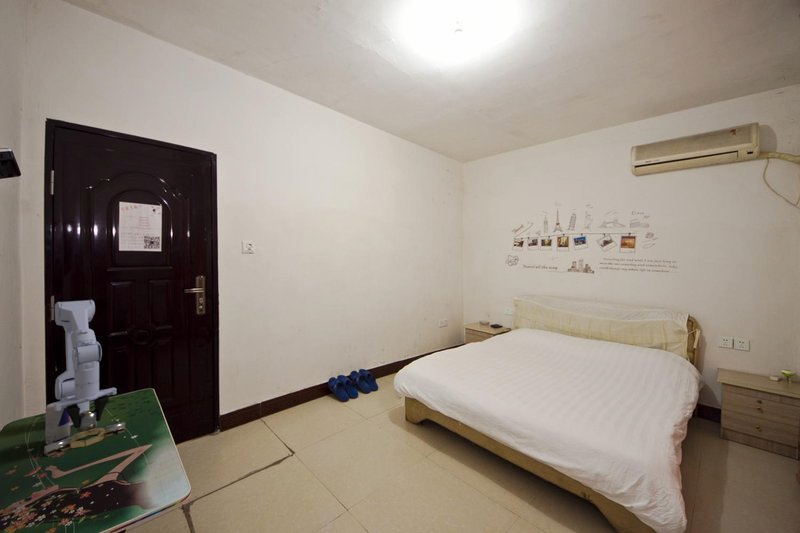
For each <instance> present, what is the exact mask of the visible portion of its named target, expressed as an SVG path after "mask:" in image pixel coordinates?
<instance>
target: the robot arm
mask: <svg viewBox="0 0 800 533" xmlns="http://www.w3.org/2000/svg"><path fill="white" fill-rule="evenodd" d="M95 312H96V305H95V301H94V300H93V299H88V300H87V299H86V300H73V301H57V302H56V303H55V304H54V316H55V317H54V321H55V323H56V325H57V326H60V327H61V326H62V327H63V329H64V331H65V333H64V334H65V359H66V361H65V364H66V366H65V367H66V370H65V371H64V372H63V373H61V374H59V375H58V376H57V378H56V379H55V384H54V395H55V399H56V400H59V401H61V402H59V401H57V402H58V403H55V402H54V403H55V404H54V410H55V411H59V410H61V409H63V408H64V409H65V411H66V412H67V413H68V414H69V416H70V427H71V426H73V428H74V429H77V428H79V414H80V413H82V412H84V411H87V410H90V402H91V401H93V405H94V410H97V422H100V421H101V418H102V415H103V412H104V409H105V408H106V407H107V406H106V405H107V404H108V402H109V401H110V398H109V397H108V396H114V395H117V388H116V387H110V388H106V389H101V390H100V362H101V360H102V356H103V352H102V351H103V350H102V346H101V344H100V343H99V341H97V339H96V338H97V337H96V335H95V332H94V330H93V329H91V328H89V322H91V321H92V320H93V318H94V315H95Z"/></svg>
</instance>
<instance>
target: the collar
mask: <svg viewBox="0 0 800 533" xmlns="http://www.w3.org/2000/svg"><path fill="white" fill-rule="evenodd" d="M106 434H107V433H106V432H105V427H104V428H103V427H98V428H97V427H96V428H94V429H92V430H89V431H85V432H78V433H73V435H70V437H69V439H70V443H69V445H68V446H70V449H76V448H83V447H87V446H90V445H92V444H95V443H98V442H101V441H102V440H104V438H106ZM88 436H92V437H90V438H87V439H82V438H86V437H88ZM79 439H82V440H79Z"/></svg>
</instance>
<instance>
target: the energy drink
mask: <svg viewBox="0 0 800 533" xmlns="http://www.w3.org/2000/svg"><path fill="white" fill-rule="evenodd" d="M58 402H61V401H60V400H59V401H56V402H52V403H49V404H47V405H46V407H45V444H46V445H50V444H53V443H56V442H58V441H61V440H64V439H67V438H70V437H71V426H70V416H69V414H68V413H67V412H66V411H65V409H64V408H63V409H61V410H59V411H55V410H54V404H55V403H58Z"/></svg>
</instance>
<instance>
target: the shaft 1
mask: <svg viewBox="0 0 800 533" xmlns="http://www.w3.org/2000/svg"><path fill="white" fill-rule="evenodd" d="M69 438H70V437H69ZM69 438H67V439H64V440H61V441H58V442H56V443H53V444H50V445H48V444H46V445H45V446H44V447H43V455H44V456H46V457H51V456H53V455H56V454H57V453H58V452H57V451H58V450H59V451H61V452H64V451H67V450H70V449H71V448H70V446H68V445H69V443H70V439H69Z"/></svg>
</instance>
